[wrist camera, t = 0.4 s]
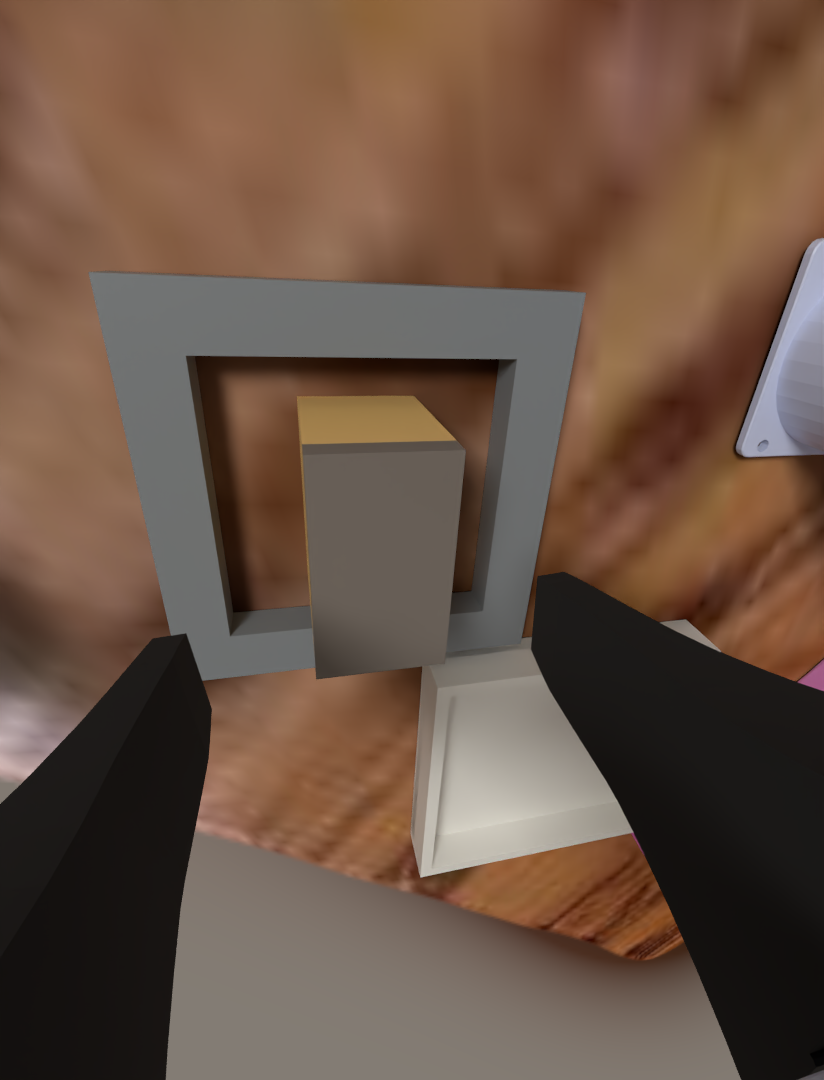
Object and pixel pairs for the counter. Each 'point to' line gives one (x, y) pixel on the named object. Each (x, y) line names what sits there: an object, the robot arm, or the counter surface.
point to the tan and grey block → (378, 531)
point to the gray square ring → (328, 331)
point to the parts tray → (503, 764)
